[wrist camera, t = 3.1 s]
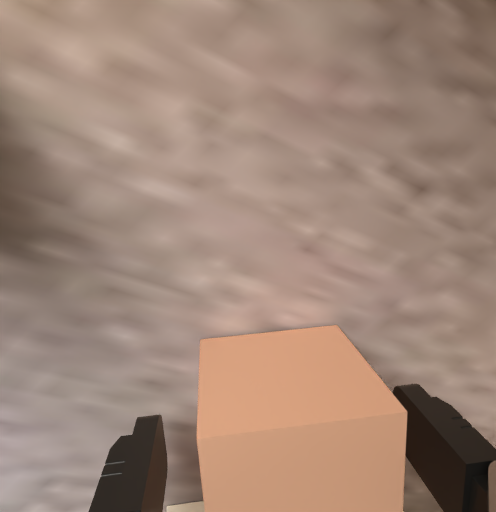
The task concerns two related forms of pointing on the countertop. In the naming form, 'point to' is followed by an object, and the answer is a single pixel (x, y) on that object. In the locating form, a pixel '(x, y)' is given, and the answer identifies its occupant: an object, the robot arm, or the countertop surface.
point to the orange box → (297, 426)
